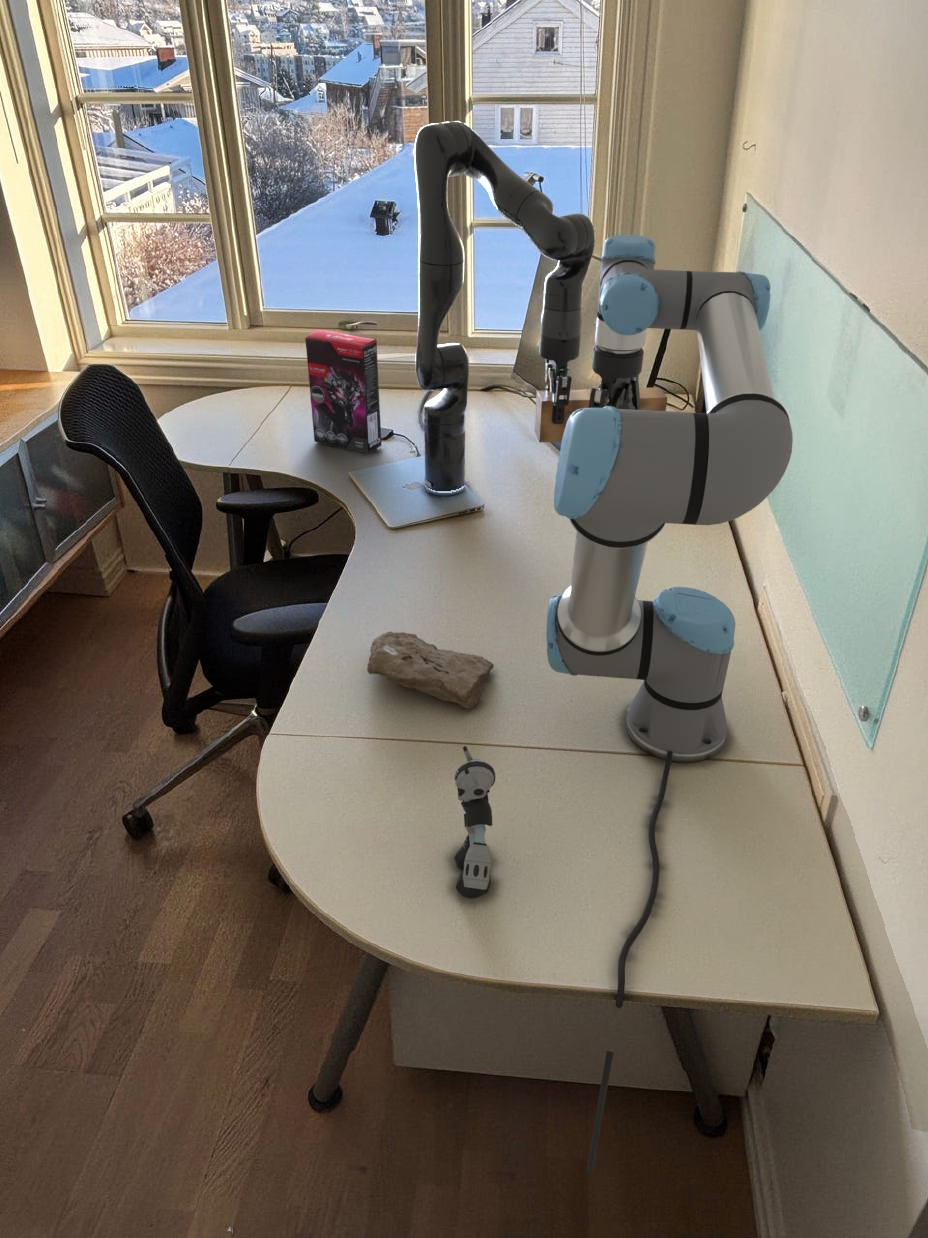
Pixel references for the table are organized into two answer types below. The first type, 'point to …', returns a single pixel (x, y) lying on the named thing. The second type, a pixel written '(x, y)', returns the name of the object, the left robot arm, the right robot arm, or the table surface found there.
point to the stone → (429, 668)
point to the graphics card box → (344, 390)
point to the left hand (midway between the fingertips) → (554, 416)
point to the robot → (474, 825)
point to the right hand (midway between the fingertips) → (605, 475)
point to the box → (580, 399)
